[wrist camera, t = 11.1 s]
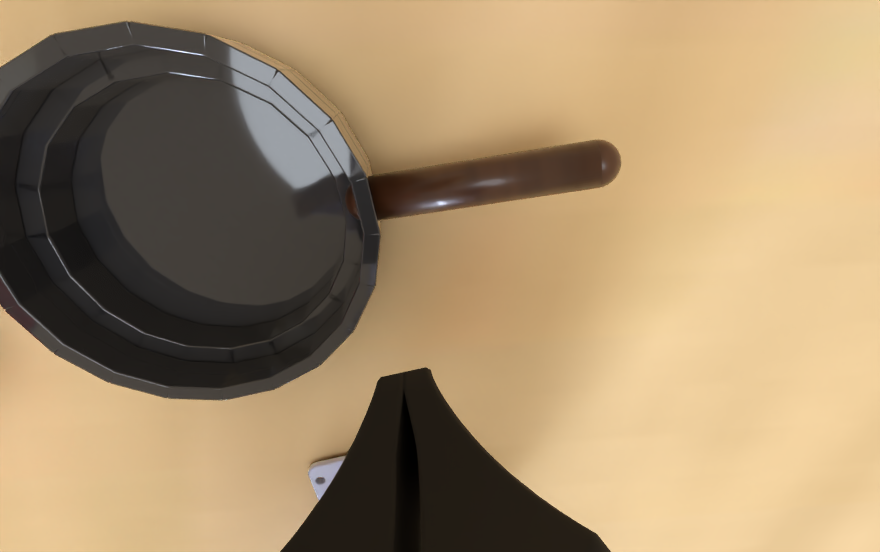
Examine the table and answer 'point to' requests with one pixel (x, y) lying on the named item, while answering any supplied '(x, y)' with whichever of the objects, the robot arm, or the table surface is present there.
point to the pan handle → (492, 179)
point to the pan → (179, 211)
